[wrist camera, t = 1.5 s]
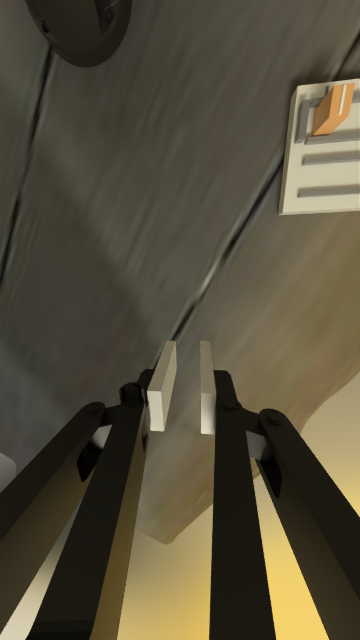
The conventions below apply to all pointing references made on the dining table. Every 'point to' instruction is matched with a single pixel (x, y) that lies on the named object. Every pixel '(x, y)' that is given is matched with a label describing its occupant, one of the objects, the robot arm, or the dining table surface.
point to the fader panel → (320, 157)
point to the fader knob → (333, 109)
